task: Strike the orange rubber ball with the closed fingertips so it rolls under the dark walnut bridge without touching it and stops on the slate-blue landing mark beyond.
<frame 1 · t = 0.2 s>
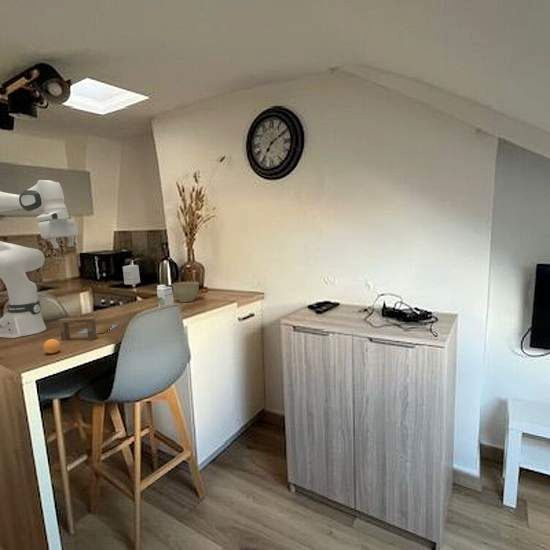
hand: (64, 247, 161), 39 cm above the counter, tool pointing down, fingers open, 8 cm apart
ball: (51, 346, 139), on the counter
sprinkles bottle: (163, 308, 206), on the counter
supplement box: (132, 283, 298), on the counter
bridge: (79, 339, 155), on the counter
syrup box: (166, 314, 193), on the counter
landing mark: (98, 329, 169), on the counter
planter bowl: (186, 301, 224), on the counter
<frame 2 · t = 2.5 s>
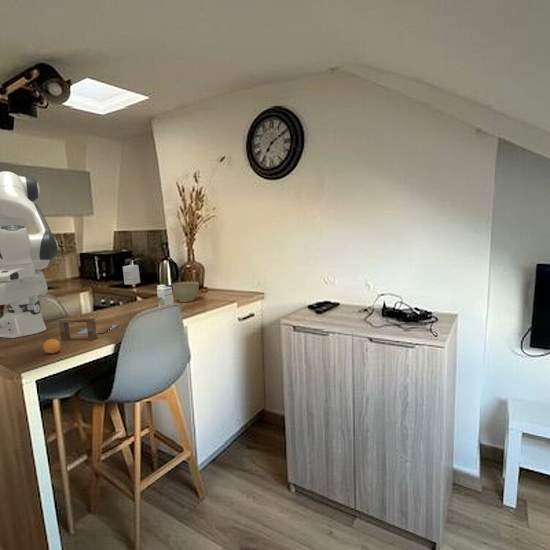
hand: (25, 311, 127), 19 cm above the counter, tool pointing down, fingers open, 4 cm apart
nothing on the counter moved.
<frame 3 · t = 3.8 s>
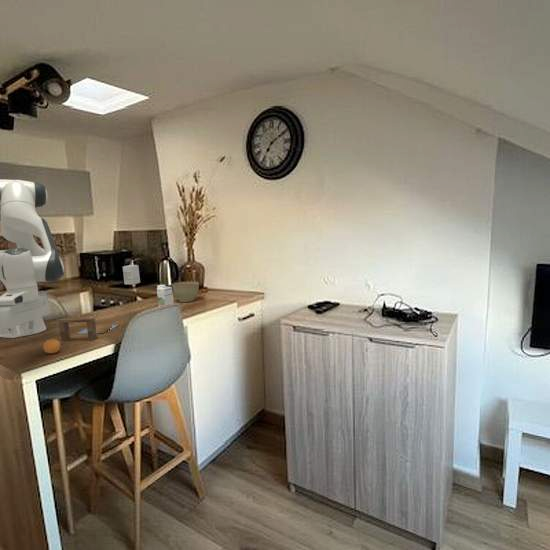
hand: (29, 333, 128), 11 cm above the counter, tool pointing down, fingers closed
nothing on the counter moved.
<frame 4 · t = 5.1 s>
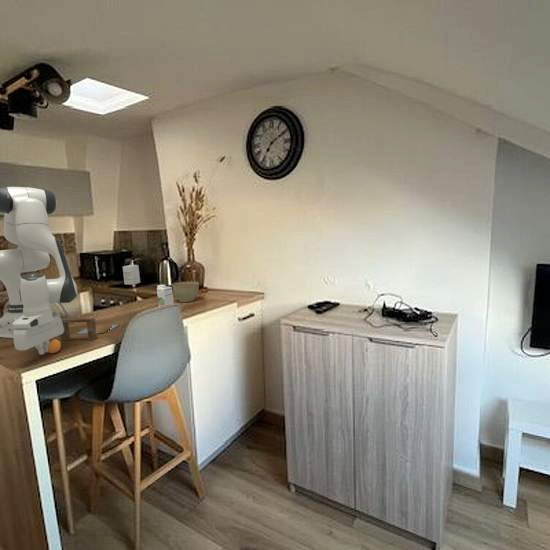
hand: (43, 353, 136), 1 cm above the counter, tool pointing down, fingers closed
ball: (52, 346, 140), on the counter, touching gripper
everything else where it was.
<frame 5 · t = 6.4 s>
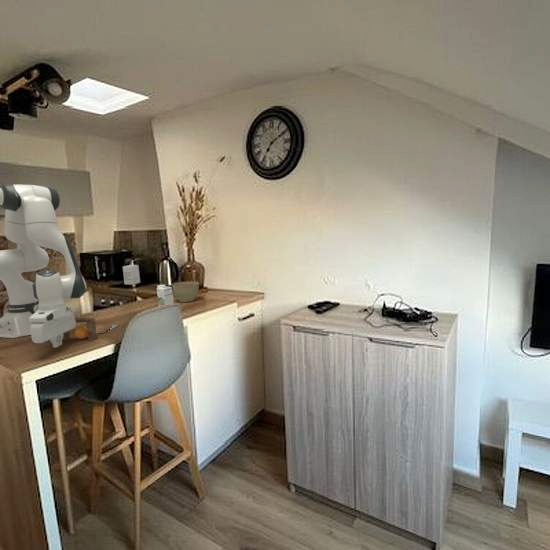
hand: (57, 346, 142), 2 cm above the counter, tool pointing down, fingers closed
ball: (81, 332, 156), on the counter
everything else where it was.
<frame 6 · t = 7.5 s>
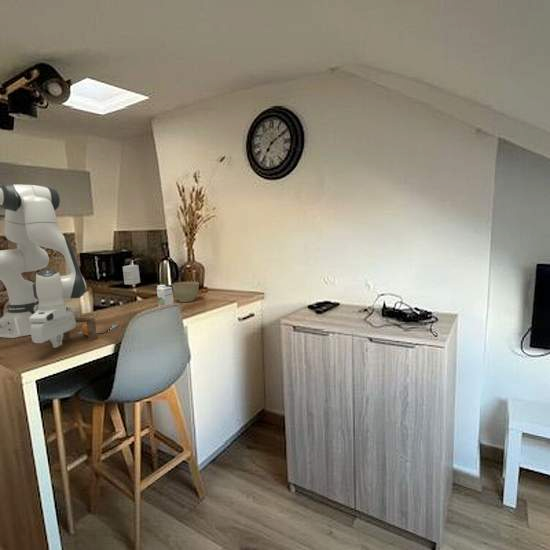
hand: (57, 346, 142), 2 cm above the counter, tool pointing down, fingers closed
ball: (88, 329, 160), on the counter
everything else where it was.
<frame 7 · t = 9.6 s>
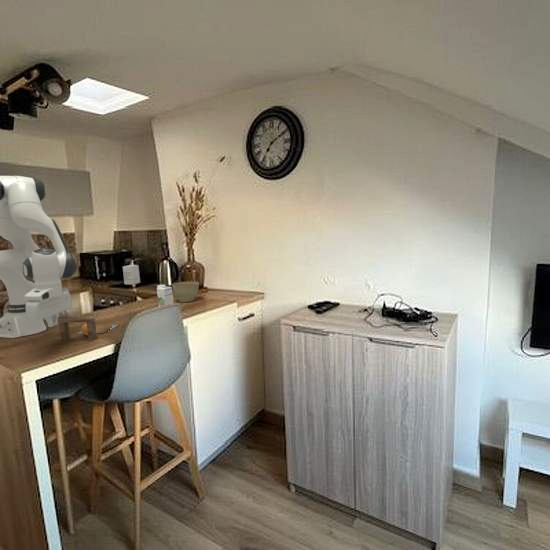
hand: (52, 325, 141), 10 cm above the counter, tool pointing down, fingers closed
nothing on the counter moved.
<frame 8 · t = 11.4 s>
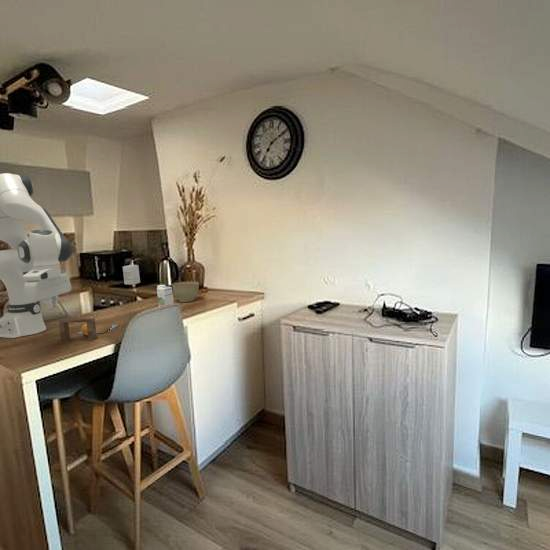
hand: (52, 308, 140), 17 cm above the counter, tool pointing down, fingers closed
nothing on the counter moved.
at the end: ball 8.5 cm from the landing mark (horizontally); ball never touched bridge; ball at rest at the end (0.0 cm/s) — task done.
